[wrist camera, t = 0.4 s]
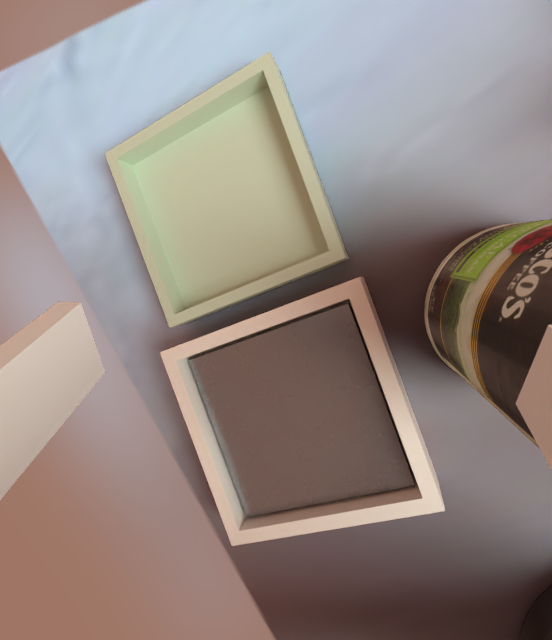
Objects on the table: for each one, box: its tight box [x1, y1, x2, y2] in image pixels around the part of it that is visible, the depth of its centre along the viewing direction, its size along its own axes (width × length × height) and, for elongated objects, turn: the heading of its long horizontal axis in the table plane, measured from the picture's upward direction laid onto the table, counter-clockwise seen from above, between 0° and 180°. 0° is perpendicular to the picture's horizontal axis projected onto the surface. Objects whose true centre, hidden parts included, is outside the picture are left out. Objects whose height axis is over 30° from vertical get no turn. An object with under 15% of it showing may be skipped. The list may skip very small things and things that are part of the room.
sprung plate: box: [189, 302, 415, 517], centre depth 26 cm, size 12×12×1 cm
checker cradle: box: [160, 277, 445, 546], centre depth 27 cm, size 15×15×4 cm
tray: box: [105, 52, 349, 328], centre depth 27 cm, size 14×14×2 cm
